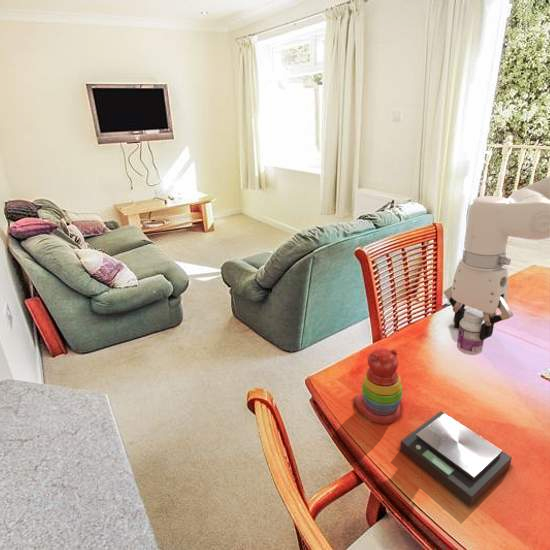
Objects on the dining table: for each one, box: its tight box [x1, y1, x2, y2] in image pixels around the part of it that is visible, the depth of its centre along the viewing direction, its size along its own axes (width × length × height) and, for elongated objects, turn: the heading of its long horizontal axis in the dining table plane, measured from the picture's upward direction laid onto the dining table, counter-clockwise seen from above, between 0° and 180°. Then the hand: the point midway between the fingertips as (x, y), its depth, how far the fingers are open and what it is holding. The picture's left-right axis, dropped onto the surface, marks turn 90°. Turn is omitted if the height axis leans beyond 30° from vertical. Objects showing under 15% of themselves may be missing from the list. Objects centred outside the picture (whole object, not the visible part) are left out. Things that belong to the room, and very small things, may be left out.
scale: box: [399, 410, 513, 508], centre depth 79 cm, size 16×14×3 cm
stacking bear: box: [354, 347, 403, 425], centre depth 90 cm, size 11×10×18 cm
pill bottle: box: [456, 309, 485, 356], centre depth 84 cm, size 5×5×10 cm
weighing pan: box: [416, 412, 503, 480], centre depth 78 cm, size 13×10×1 cm
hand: (471, 331), depth 84 cm, fingers closed on pill bottle, 5 cm apart
